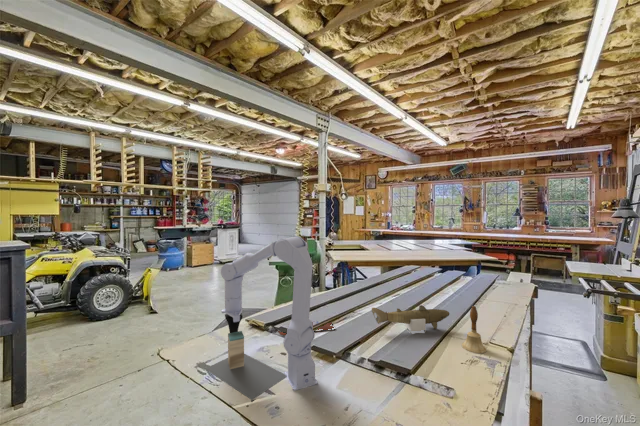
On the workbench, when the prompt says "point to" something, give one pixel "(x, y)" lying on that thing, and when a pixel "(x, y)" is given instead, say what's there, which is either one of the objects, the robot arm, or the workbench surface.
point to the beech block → (235, 349)
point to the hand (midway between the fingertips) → (233, 334)
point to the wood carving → (412, 317)
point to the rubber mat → (247, 376)
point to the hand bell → (474, 336)
